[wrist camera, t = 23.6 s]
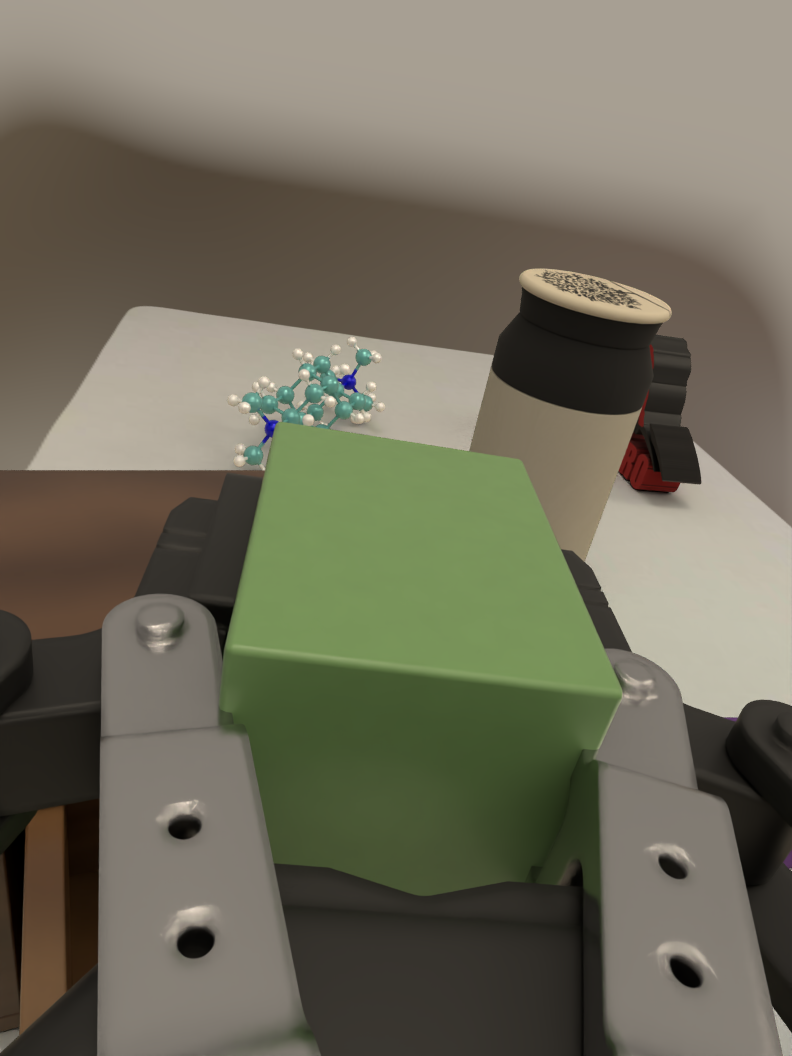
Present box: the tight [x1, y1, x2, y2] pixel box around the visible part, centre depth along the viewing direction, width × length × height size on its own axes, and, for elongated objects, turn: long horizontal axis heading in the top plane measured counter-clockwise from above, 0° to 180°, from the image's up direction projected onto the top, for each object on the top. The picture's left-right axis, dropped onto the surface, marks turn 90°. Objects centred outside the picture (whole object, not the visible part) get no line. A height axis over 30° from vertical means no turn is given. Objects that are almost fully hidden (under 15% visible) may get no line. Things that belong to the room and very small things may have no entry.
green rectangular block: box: [219, 422, 623, 896], centre depth 12 cm, size 4×6×8 cm
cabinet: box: [0, 470, 265, 1032], centre depth 27 cm, size 15×13×10 cm
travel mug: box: [469, 269, 672, 562], centre depth 41 cm, size 8×8×18 cm
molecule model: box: [227, 337, 385, 470], centre depth 56 cm, size 8×18×7 cm, turn 158°
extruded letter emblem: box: [619, 335, 701, 492], centre depth 65 cm, size 18×4×11 cm, turn 11°
